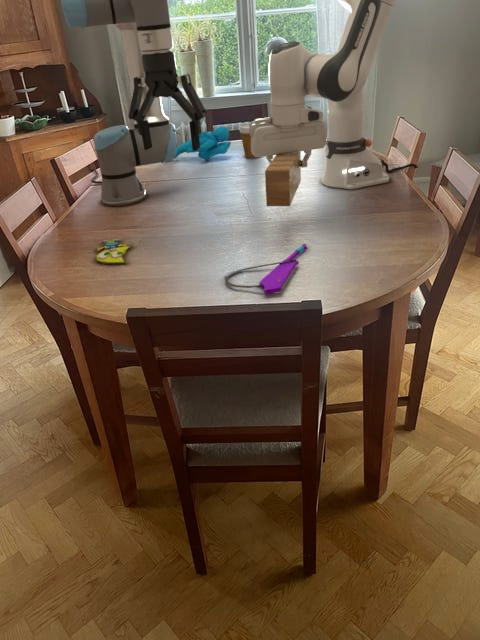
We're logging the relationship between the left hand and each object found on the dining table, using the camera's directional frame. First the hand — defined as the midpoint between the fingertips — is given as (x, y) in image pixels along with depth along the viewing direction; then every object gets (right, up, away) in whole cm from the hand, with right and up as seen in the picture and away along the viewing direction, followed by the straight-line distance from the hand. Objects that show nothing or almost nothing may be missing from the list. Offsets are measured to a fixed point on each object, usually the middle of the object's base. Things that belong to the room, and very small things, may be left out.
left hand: (172, 149), depth 120 cm
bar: (+29, -9, +7) cm, 31 cm away
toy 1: (-17, -25, +10) cm, 32 cm away
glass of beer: (+22, +26, +83) cm, 90 cm away
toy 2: (-1, +26, +86) cm, 90 cm away
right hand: (+30, -1, +12) cm, 33 cm away
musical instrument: (+24, -31, -6) cm, 40 cm away
